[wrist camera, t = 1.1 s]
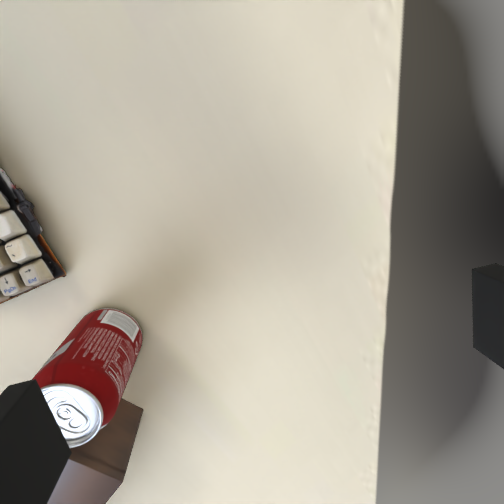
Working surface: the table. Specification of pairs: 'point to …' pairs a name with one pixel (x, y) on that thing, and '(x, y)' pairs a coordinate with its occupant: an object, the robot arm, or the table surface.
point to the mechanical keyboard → (22, 245)
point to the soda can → (90, 373)
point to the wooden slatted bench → (99, 461)
